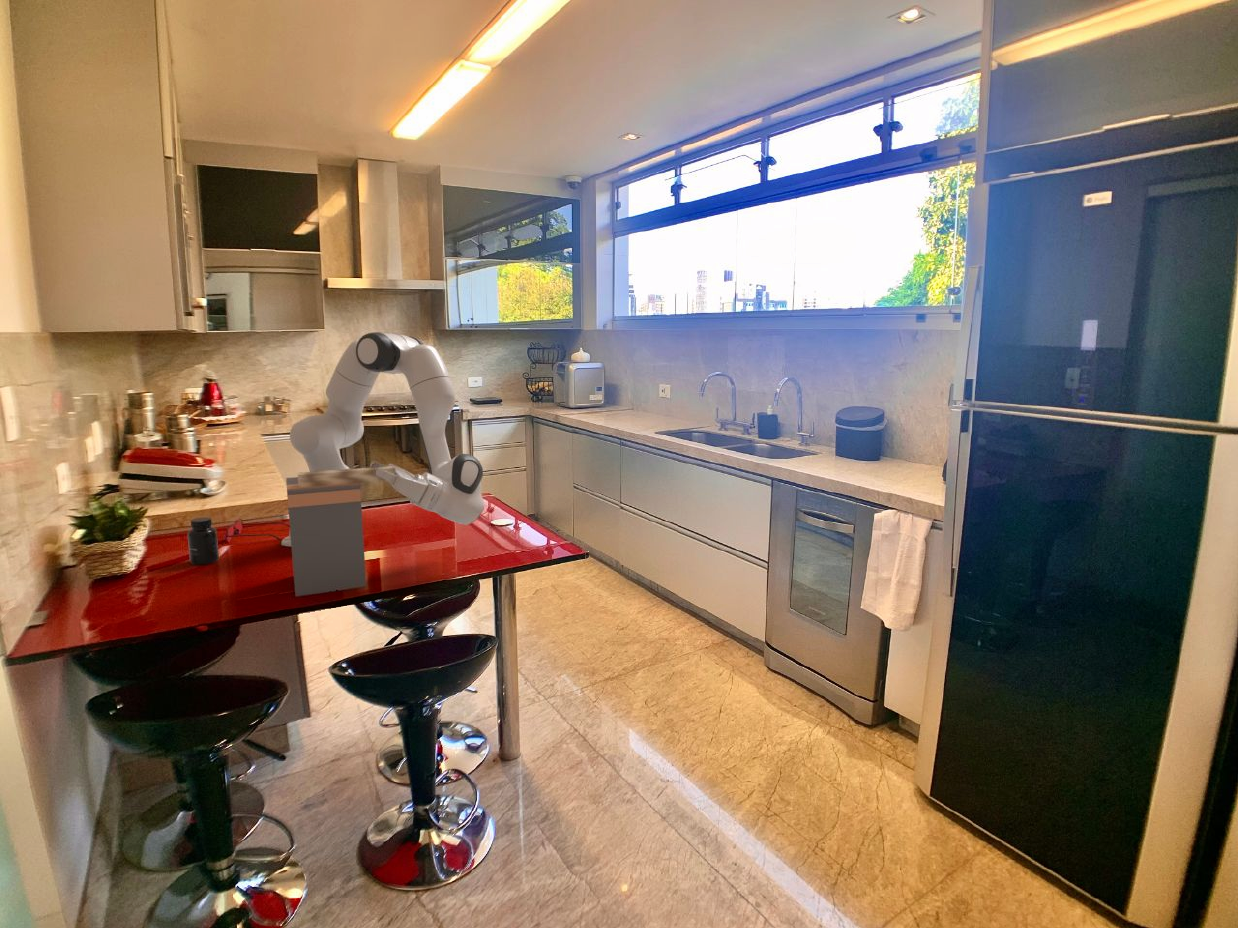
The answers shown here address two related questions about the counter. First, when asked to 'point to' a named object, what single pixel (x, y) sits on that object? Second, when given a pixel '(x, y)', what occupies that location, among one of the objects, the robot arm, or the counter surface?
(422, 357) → the robot arm
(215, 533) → the supplement bottle
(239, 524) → the glasses
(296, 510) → the stand
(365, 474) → the maple bar
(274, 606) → the counter surface
